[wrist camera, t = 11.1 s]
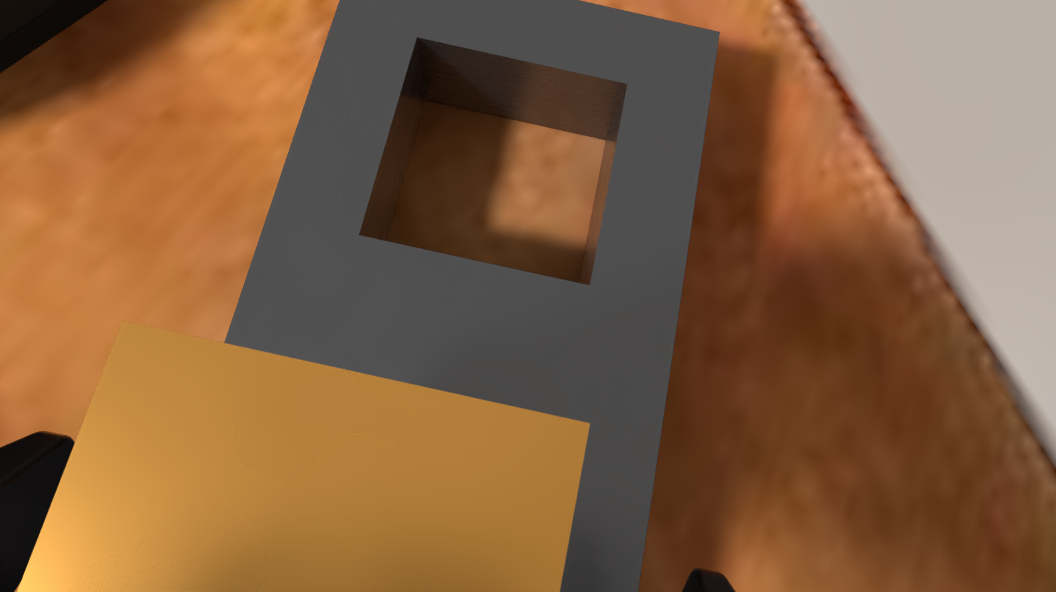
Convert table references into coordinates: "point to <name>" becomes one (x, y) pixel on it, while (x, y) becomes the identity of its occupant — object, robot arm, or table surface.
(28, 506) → the robot arm
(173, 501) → the grey square peg
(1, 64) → the digital camera
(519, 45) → the gray slotted board
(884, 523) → the table surface
